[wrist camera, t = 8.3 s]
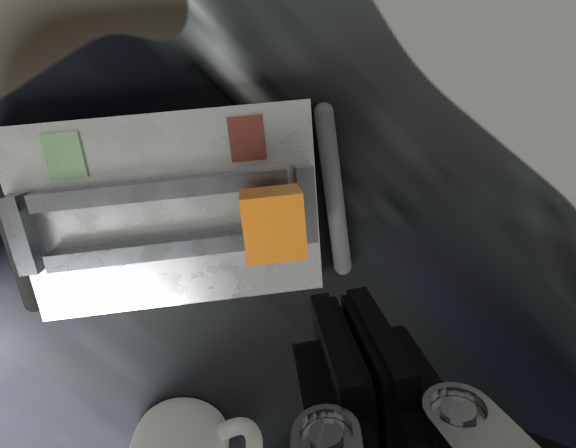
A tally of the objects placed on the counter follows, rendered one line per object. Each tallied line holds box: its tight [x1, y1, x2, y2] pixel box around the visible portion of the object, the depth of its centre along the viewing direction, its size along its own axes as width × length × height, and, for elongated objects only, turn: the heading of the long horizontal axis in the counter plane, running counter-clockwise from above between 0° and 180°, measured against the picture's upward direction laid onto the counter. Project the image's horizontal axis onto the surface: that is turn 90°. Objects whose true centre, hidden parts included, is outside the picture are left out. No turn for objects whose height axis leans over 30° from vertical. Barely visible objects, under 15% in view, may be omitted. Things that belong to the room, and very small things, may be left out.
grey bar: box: [0, 184, 40, 312], centre depth 28 cm, size 13×1×1 cm, turn 5°
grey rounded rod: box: [314, 102, 352, 275], centre depth 30 cm, size 13×1×1 cm, turn 9°
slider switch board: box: [0, 99, 323, 322], centre depth 28 cm, size 14×21×4 cm, turn 95°
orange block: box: [239, 183, 308, 267], centre depth 25 cm, size 4×4×6 cm
